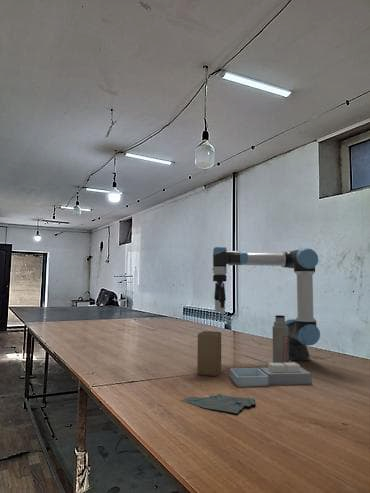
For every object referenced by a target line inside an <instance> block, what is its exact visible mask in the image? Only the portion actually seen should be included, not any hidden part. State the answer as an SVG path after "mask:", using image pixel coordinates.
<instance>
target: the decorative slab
mask: <svg viewBox="0 0 370 493" xmlns="http://www.w3.org/2000/svg"><path fill="white" fill-rule="evenodd" d="M255 401H256V399H255V398H254V397H250V398H249V397H239V396H231V395H226V394H220V393H218V394H216V395H211V396H207V397H197V396H190V397H189V398H188V397H187V398H186V397H185V398H184V399H181V400H180V402H181V403H186V404H189V405H193V406H195V407H198V408H199V409H200V408H201V409H204V410H207V411H210V412H211V411H212V412H218V413H224V414H228V415H234V416H238V415H240V414H241V413H242V411H244V410H245V409H246V410H251V408H253V409H254V408H256V407H257V404H256V402H255Z"/></svg>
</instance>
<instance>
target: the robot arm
mask: <svg viewBox="0 0 370 493" xmlns="http://www.w3.org/2000/svg"><path fill="white" fill-rule="evenodd" d="M212 249H213V250H212V251H213V252H212V268H211V270H212V273H213V275H212V281H213V282H215V287H214V297H213V298H214V312H215V313H219V315H225V314H226V313H225V312H226V305H225V304H226V300H227V298H226V290H225V283H226V282H227V277H228V276H227V272H228V271H227V270H228V269H227V267H228V266H270V267H271V266H273V267H274V266H275V267H281V268H283V269H284V268H286V269H293V273H294V274H295V275H296V297H297V298H296V299H297V300H296V301H297V310H296V311H297V317H296V318H295V319H286V320H285V322H287V326H288V342H289V361H293V362H294V361H295V362H307V361H309V360H311V355H310V353H309V350H308V346H313V345H316V344H317V343H318V342H319V340H320V338H321V332H320V329H319V328H318V326H317V319H316V318H315V317H314V286H313V284H314V283H313V282H314V280H313V275H314V274H315V273H316V266H317V265H318V263H319V256H318V254H317V252H316V250H314V249H312V248H308V247H304V248H300V249H299V248H298V249H294V250H289V251H281V252H280V253H279V252H277V253H274V252H272V253H271V252H267V253H266V252H247V251H246V250H227V247H226V246H216V247H213V248H212ZM227 265H228V266H227ZM224 282H225V283H224Z"/></svg>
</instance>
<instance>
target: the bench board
mask: <svg viewBox="0 0 370 493" xmlns="http://www.w3.org/2000/svg"><path fill="white" fill-rule="evenodd" d="M259 369H260V370H261V371H262V372H264V373H265V374H266V375H267V376H269V386H271V385H276V386H277V385H280V386H281V385H312V383H313V382H312V373H311V372H309V371H308V370H306V369H304V368H303V367H301V366H300V372H286V371H285V372H275V373H273V372H271V371H270V370H269V369H268V367H260V368H259Z"/></svg>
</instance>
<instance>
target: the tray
mask: <svg viewBox="0 0 370 493" xmlns="http://www.w3.org/2000/svg"><path fill="white" fill-rule="evenodd" d="M228 372H229V375H228V376H229V378H230V379H231V381H232V382H233V383H234V385H235V386H236V387H239V388H241V387H243V388H244V387H270V385H269V376H267V375H266V374H265V373H264V372H262V371H261V370H260V368H258V367H244V368H242V367H241V368H240V367H235V368H232V367H231V368H229V371H228Z"/></svg>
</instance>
